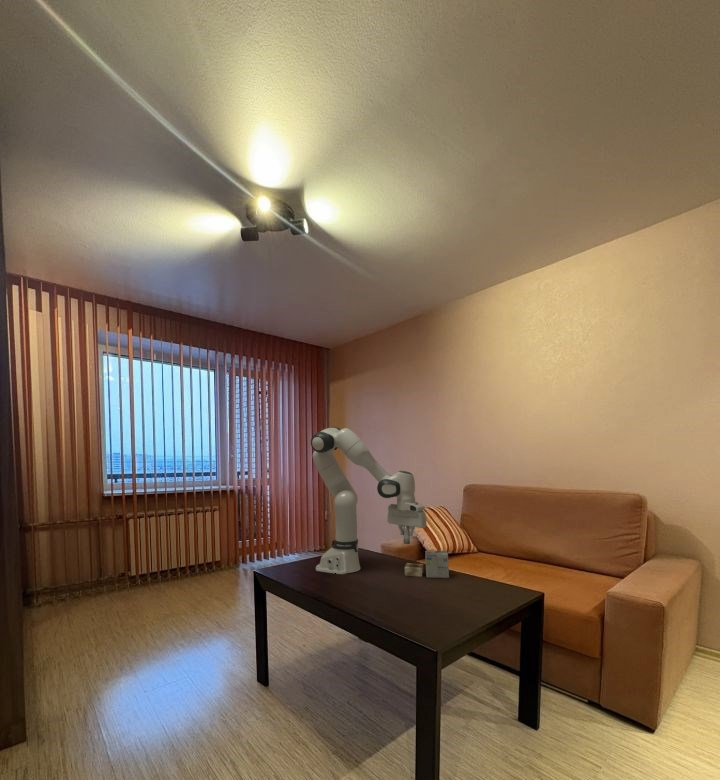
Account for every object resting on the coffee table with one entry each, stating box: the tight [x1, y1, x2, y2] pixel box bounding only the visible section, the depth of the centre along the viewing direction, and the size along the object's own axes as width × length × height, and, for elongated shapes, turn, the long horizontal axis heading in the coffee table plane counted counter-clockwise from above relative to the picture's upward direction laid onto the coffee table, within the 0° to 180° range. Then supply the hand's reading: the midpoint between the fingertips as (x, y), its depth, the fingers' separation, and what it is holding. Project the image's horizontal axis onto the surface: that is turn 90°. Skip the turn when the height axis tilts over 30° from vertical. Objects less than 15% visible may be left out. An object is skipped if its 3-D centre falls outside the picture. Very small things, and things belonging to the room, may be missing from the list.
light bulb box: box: [424, 550, 450, 579], centre depth 192 cm, size 11×7×11 cm, turn 84°
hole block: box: [404, 562, 424, 577], centre depth 195 cm, size 8×8×4 cm
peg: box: [402, 525, 411, 545], centre depth 192 cm, size 3×3×9 cm
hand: (406, 535), depth 192 cm, fingers closed on peg, 3 cm apart
